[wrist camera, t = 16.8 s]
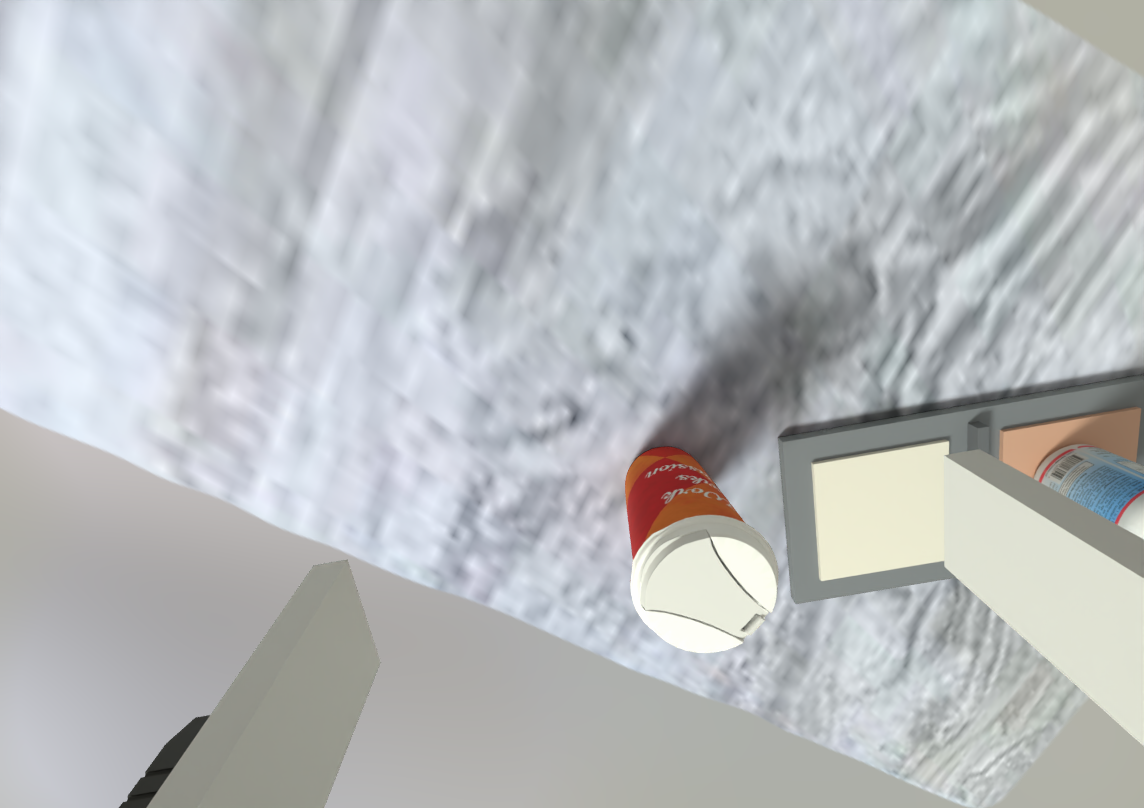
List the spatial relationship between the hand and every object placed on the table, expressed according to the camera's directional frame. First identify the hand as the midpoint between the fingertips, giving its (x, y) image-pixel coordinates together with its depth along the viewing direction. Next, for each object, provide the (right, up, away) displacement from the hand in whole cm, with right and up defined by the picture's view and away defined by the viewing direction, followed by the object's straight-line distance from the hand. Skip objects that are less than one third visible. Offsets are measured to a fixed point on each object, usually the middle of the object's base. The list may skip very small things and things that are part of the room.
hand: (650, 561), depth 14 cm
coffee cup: (+5, -2, +34) cm, 35 cm away
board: (+29, -3, +35) cm, 45 cm away
